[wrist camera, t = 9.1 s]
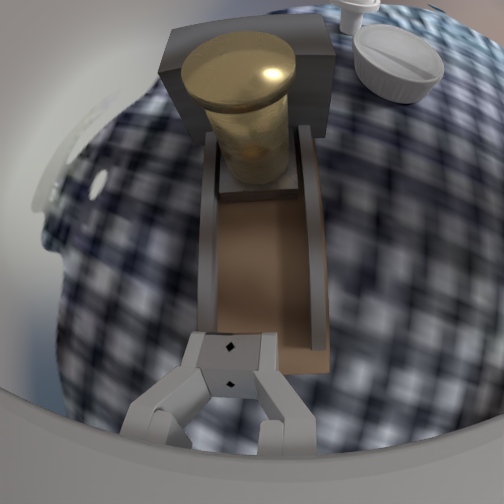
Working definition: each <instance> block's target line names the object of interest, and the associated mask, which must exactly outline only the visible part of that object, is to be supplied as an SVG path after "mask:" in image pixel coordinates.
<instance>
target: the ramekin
mask: <svg viewBox="0 0 504 504" xmlns="http://www.w3.org/2000/svg"><path fill="white" fill-rule="evenodd" d="M352 48H353V51H354V65H355V70H356V73H357V75H358V77H359V79H360V80H361V82H362V83H363V84H364V85H365V86H366V87H367V88H368V89H369V90H370V91H372V92H373V93H375V94H376V95H378V96H380V97H382V98H384V99H386V100H389V101H392V102H396V103H403V104H409V103H415V102H418V101H421V100H422V99H424V98H425V97H426V96H427V95H428V93H429V92H430V91H431V89H432V88H433V87H434V86H435V85H436V84H437V83H438V82H439V81H440V80H441V79H442V76H443V73H444V65H443V62H442V60H441V58H440V56H439V55H438V53H437V52H436V51H435V50H434V49H433V48H432V47H431V46H430V45H429V44H428V43H427V42H425V41H424V40H423V39H421V38H419V37H418V36H416V35H414V34H412V33H410V32H408V31H405V30H403V29H400V28H397V27H394V26H390V25H382V24H376V25H368V26H364V27H362V28H360V29H358V30H357V31H356V32H355V34H354V35H353V38H352Z"/></svg>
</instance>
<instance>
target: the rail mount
mask: <svg viewBox="0 0 504 504" xmlns="http://www.w3.org/2000/svg"><path fill="white" fill-rule="evenodd" d="M239 31H258V32H264V33H268V34H272V35H274V36H277V37H279V38H281V39H282V40H284V41H285V42H287V43H288V44H289V45H290V47H291V48H292V49H293V51H294V54H295V70H296V77H295V82H294V84H293V86H292V88H291V90H290V91H289V92H288V93H287V102H288V126H293V135H294V145H295V156H296V167H297V179H298V199H289V200H267V201H248V202H231V203H224V201H223V199H222V197H221V196H220V194H219V182H220V159H221V149H220V146H219V144H218V141H217V139H216V136H215V134H214V131H213V129H212V126H211V124H210V121H209V119H208V116H207V114H206V111H205V109H203V108H201V107H199V106H198V105H197V104H195V103H194V102H193V101H192V99H191V98H190V96H189V94H188V92H187V90H186V87H185V85H184V83H183V80H182V77H181V69H182V66H183V63H184V61H185V59H186V58H187V57H188V55H189V54H190V53H191V52H192V51H193V50H194V49H196V48H197V47H198V46H200V45H201V44H203V43H204V42H206V41H208V40H210V39H212V38H215V37H217V36H220V35H224V34H227V33H232V32H239ZM335 61H336V53H335V50H334V47H333V45H332V42H331V39H330V36H329V33H328V31H327V28H326V25H325V23H324V20H323V18H322V15H321V14H278V15H261V16H250V17H240V18H232V19H224V20H219V21H211V22H206V23H200V24H195V25H190V26H185V27H181V28H176V29H172V31H171V34H170V37H169V39H168V42H167V45H166V48H165V51H164V54H163V57H162V60H161V63H160V67H159V70H158V74H159V76H160V78H161V80H162V82H163V84H164V86H165V88H166V90H167V92H168V94H169V95H170V97H171V99H172V101H173V103H174V105H175V107H176V109H177V111H178V113H179V115H180V117H181V118H182V120H183V122H184V124H185V126H186V128H187V130H188V132H189V134H190V136H191V138H192V140H193V141H194V143H195V145H196V146H203V145H205V151H204V164H203V178H202V194H201V212H200V233H199V260H198V317H197V331H198V332H220V333H273V332H276V333H277V335H278V360H279V370H278V371H280V372H281V373H282V375H297V374H319V373H330V339H329V299H328V277H327V260H326V245H325V231H324V220H323V209H322V198H321V189H320V180H319V171H318V163H317V155H316V147H315V140H314V138H325V135H326V128H327V121H328V115H329V108H330V101H331V93H332V86H333V78H334V70H335Z"/></svg>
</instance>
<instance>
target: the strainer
mask: <svg viewBox="0 0 504 504" xmlns="http://www.w3.org/2000/svg"><path fill="white" fill-rule="evenodd" d="M329 1H330V2H331V3H332V4H334V5H335V6H337V7H340V8H341V20H340V31H341V32H343V33H345V34H347V35H352V36H353V35H354V34H355V32H356V31H357V30H358V29H360V28H361V24H362V18H363V13H372V12H376V11H378V10H379V6H380V0H329Z"/></svg>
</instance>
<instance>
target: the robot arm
mask: <svg viewBox="0 0 504 504" xmlns="http://www.w3.org/2000/svg"><path fill="white" fill-rule="evenodd" d="M278 370H279V360H278V335H277V333H276V332H273V333H220V332H198V331H193V332H192V333H191V335H190V338H189V341H188V344H187V347H186V350H185V353H184V356H183V359H182V363H181V366H180V367H177V366H176V367H175V368H174V369H173V370H172V371H170V372H169V373H168V374H167V375H165V376H164V377H163V378H162V379H161V380H159V381H158V382H157V383H156V384H155V385H153V386H152V387H151V388H150V389H148V390H147V391H146V392H145V393H143V394H142V395H141V396H140V397H139V398H137V399H136V400H135V401H134V402H132V403H131V404H130V407H129V409H128V412H127V415H126V417H125V420H124V423H123V425H122V428H121V431H120V434H116V433H113V432H109V431H106V430H103V429H99V428H96V427H93V426H90V425H87V424H84V423H81V422H78V421H75V420H72V419H70V418H67V417H64V416H62V415H59V414H57V413H54V412H52V411H49V410H47V409H44V408H42V407H40V406H38V405H35V404H33V403H31V402H29V401H27V400H24V399H22V398H20V397H18V396H16V395H14V394H12V393H10V392H8V391H6V390H5V389H3V388H1V387H0V504H504V413H503V414H501V415H498V416H496V417H493V418H491V419H488V420H486V421H483V422H480V423H477V424H475V425H472V426H469V427H466V428H463V429H460V430H456V431H453V432H450V433H446V434H443V435H439V436H436V437H432V438H428V439H424V440H420V441H415V442H411V443H406V444H401V445H396V446H390V447H385V448H379V449H372V450H365V451H357V452H348V453H338V454H325V455H316V418H315V417H314V416H313V414H312V413H311V412H310V410H309V409H308V408H307V406H306V405H305V404H304V403H303V401H302V400H301V399H300V397H299V396H298V395H297V393H296V392H295V391H294V389H293V388H292V387H291V385H290V384H289V383H288V381H287V380H286V379H285V377H284V376H283V375H282V373H281V372H280V371H278ZM211 397H227V398H246V399H258V401H259V403H260V404H261V406H262V408H263V410H264V411H265V413H266V415H267V416H268V418H269V420H264V421H263V422H262V423H261V425H260V434H259V443H258V452H257V455H240V454H228V453H217V452H208V451H200V450H193V449H191V448H192V442H191V441H190V439H189V438H188V436H187V435H186V434H185V432H184V431H183V429H184V428H185V427H186V426H187V425H188V424H189V423H190V421H191V420H192V419H193V418H194V417H195V416H196V415H197V414H198V413H199V412H200V410H201V409H202V408H203V407H204V406H205V405H206V404H207V403H208V401H209V400H210V399H211Z"/></svg>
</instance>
